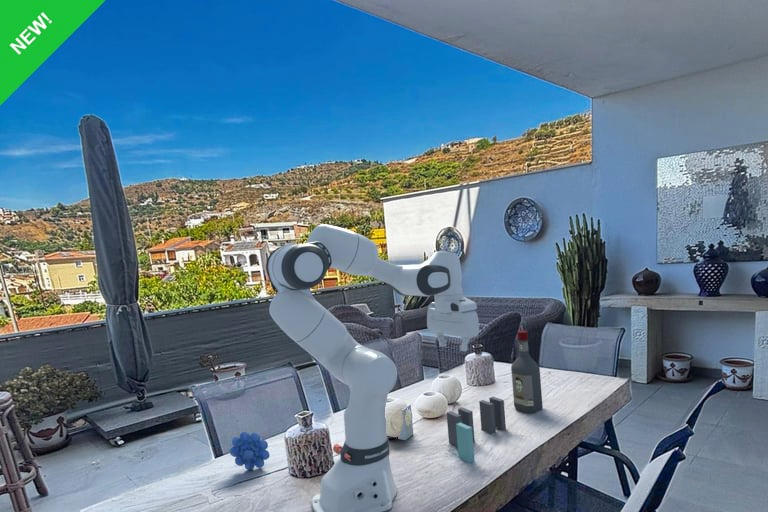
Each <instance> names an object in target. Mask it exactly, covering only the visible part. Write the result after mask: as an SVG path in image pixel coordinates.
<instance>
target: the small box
mask: <svg viewBox="0 0 768 512" xmlns="http://www.w3.org/2000/svg"><path fill="white" fill-rule="evenodd" d="M406 404H407V403H406ZM407 408H408V410H409V409H410V411H411V415H412V404H407V407H406V408H404V409H402V410H401V411H402V415H403V424H402V431H401V434H400V435H399V436H398V440H403V441H407V440H408V439H409V438H410V437H411V436H412V435H414V426H413V425H414V424H413V419H412V420H411V424H410V426H409V427H408V426H407V425H406V421H405V415H406V410H407Z"/></svg>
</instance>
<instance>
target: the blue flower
mask: <svg viewBox="0 0 768 512" xmlns="http://www.w3.org/2000/svg"><path fill="white" fill-rule="evenodd" d="M231 444H232V447H231V448H230V450H229V452H230V456H231V457H233V458H235V459H234V463H235V465H236V466H239V467H243V466H244V468H245V469H246V470H248V471H252V470H253V469H255V468H259V469H261V468H263V467H264V466H265V460H269V458H270V452H269V451H268V450H267V449H268V447H269V444H268V441H266V440H264V439H261V436H260V434H259V433H257V432H253V433H251V434H250V433H249V432H248V431H242V432H241V433H240V434H239V437H238V436H236V437H233V438H232V440H231Z"/></svg>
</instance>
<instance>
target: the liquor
mask: <svg viewBox="0 0 768 512" xmlns="http://www.w3.org/2000/svg"><path fill="white" fill-rule="evenodd" d="M528 334H529V333H528V331H527V330H518V331H517V340H518V357H517V358H516V359H515V360H514V361H513V362H512V363H511V366H510V369H511V382H512V396H513V406H514V408H515V410H516V411H517V412H521V413H525V414H536V413H537V412H540V411H542V409H543V407H544V406H543V394H542V384H541V383H542V381H541V380H542V379H541V370H540V369H541V368H540V366H539V364H538V363H537V362H536V361H535V360H534V359H533V358H532V357H531V354H530V353H529V352H530V351H529V341H528V340H529V337H528V336H529V335H528Z"/></svg>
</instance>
